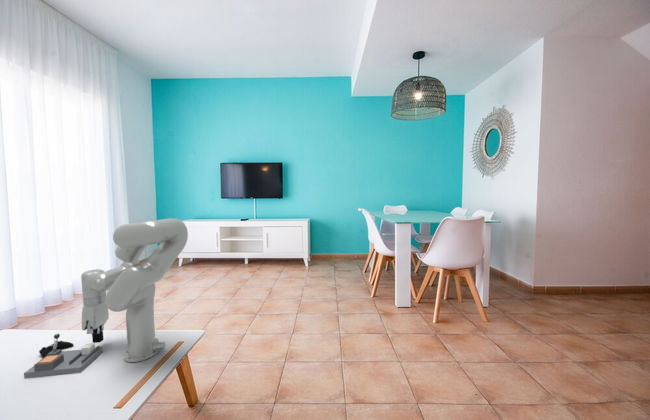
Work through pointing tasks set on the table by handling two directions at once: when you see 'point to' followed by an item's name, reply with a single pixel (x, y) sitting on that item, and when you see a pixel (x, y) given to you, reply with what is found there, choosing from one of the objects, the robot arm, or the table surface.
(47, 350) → the game controller
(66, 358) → the control panel
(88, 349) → the slide switch
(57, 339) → the toggle lever
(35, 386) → the table surface
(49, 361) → the push button
